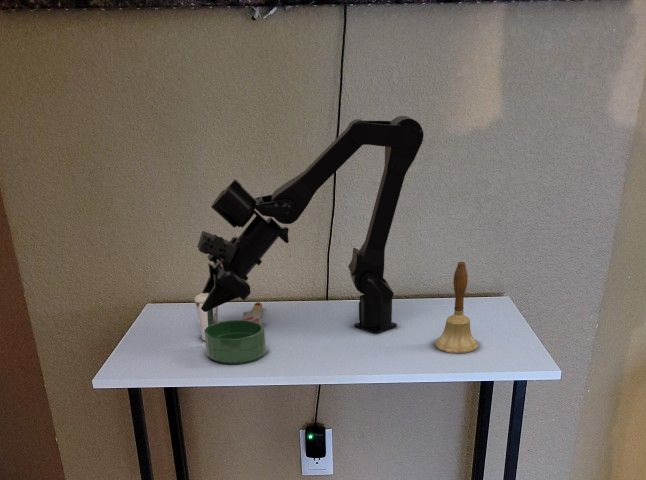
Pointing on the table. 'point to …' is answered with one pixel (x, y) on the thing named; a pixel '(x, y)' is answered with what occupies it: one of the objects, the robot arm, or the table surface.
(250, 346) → the bowl
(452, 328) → the hand bell
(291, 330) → the table surface
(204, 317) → the milkshake
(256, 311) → the paintbrush
